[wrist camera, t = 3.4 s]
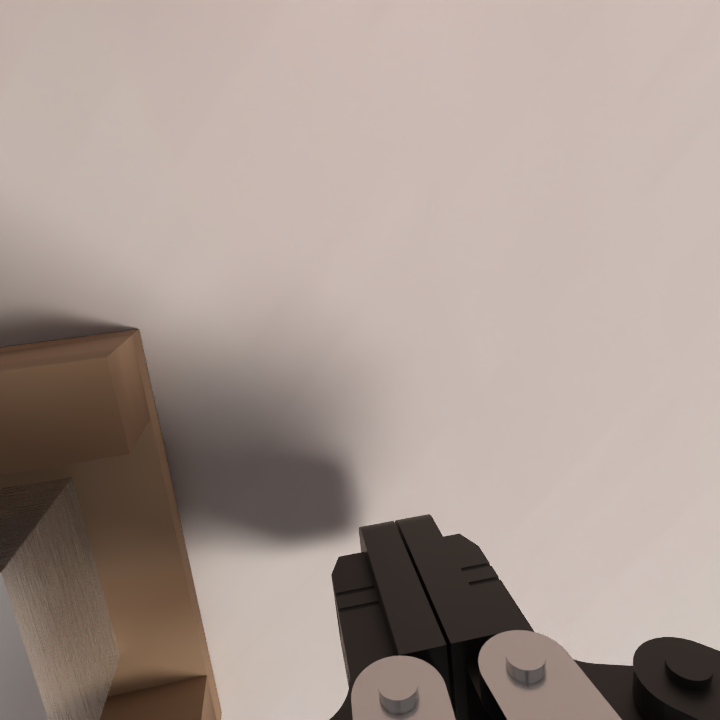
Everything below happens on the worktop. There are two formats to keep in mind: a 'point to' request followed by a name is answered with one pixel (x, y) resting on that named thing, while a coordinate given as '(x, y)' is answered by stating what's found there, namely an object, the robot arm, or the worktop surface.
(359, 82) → the worktop surface
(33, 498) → the block
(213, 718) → the slotted board with tray
